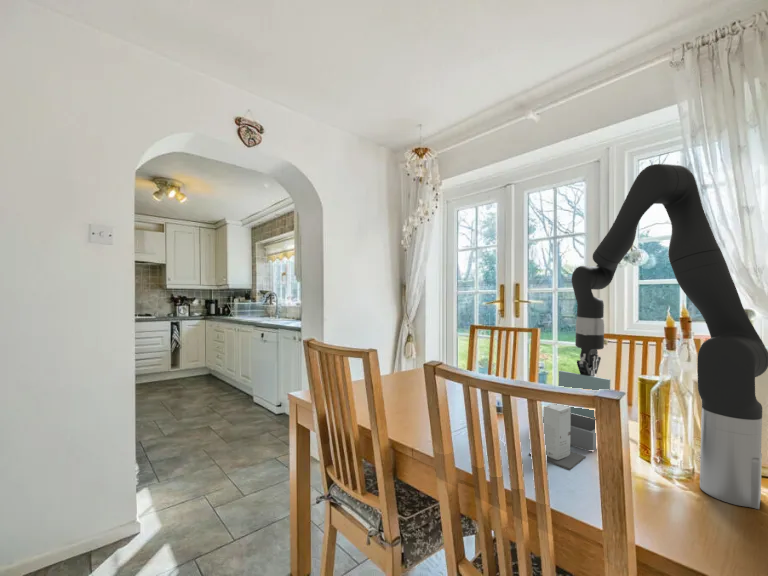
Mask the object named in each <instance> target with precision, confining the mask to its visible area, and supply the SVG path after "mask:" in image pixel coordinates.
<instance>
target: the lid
mask: <svg viewBox="0 0 768 576" xmlns="http://www.w3.org/2000/svg"><path fill="white" fill-rule="evenodd" d="M558 386H564V387H572V388H583V389H592V390H599V389H609V390H610V391H611V378H610V379H609V378H603V377H598V376H594V377H593V376H588V375H582V374H580V373H576V372H570V371H564V370H558ZM558 386H557V387H558ZM571 413H572V414H576V415H580V416H584V417H588V418H592V419H595V417H594V410H589V409H582V408H574V407H571ZM595 420H596V419H595Z"/></svg>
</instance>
